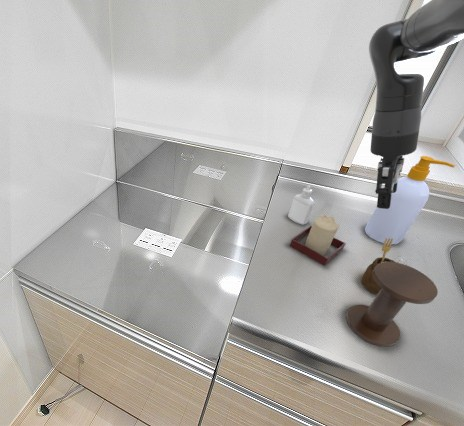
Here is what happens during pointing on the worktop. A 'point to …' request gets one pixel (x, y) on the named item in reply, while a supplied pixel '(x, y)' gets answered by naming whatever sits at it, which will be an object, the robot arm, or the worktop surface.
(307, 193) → the eye dropper bottle
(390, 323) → the candle stand
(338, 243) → the dark red square frame
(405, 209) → the soap bottle
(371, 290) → the utensil holder
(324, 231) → the candle
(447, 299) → the worktop surface
